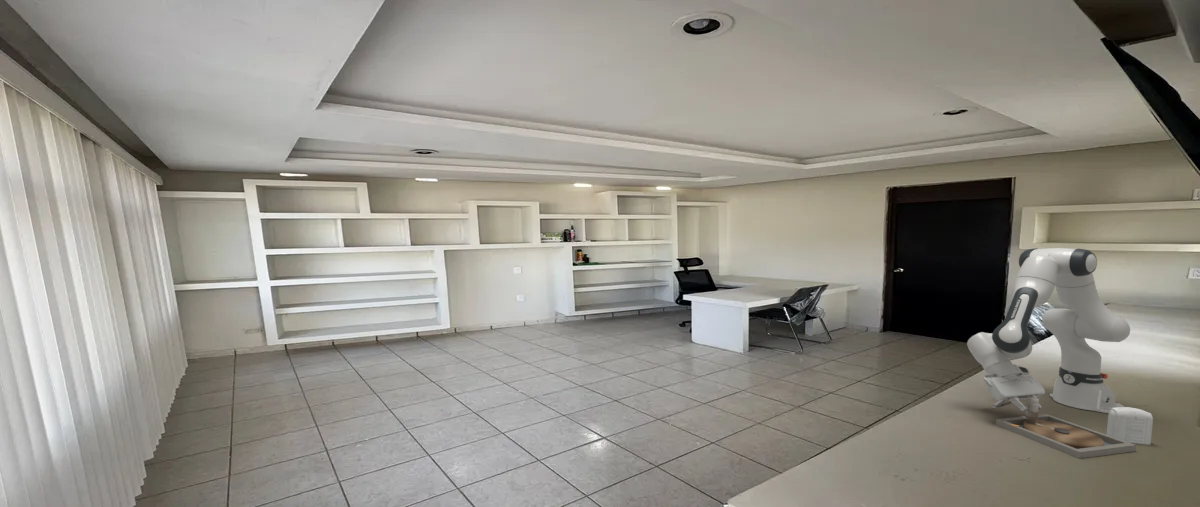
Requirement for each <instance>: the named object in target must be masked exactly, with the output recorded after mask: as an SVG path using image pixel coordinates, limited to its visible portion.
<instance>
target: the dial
mask: <svg viewBox="0 0 1200 507" xmlns="http://www.w3.org/2000/svg"><path fill="white" fill-rule="evenodd" d="M1039 402H1040V398H1039V397H1037V398H1036V397H1031V396H1028V397H1027V398H1026V406H1027V407H1028V410H1026V411H1025V416H1026V421H1025V422H1024V423H1023V428H1024V429H1027V430H1030V431H1032V432H1035V433H1037V434H1040V435H1042V436H1045V437H1048V438H1050V439H1053V440H1055V441H1058V442H1060V443H1063V444H1066V445H1068V446H1071V447H1073V448H1076V449H1081V448H1089V447H1097V446H1104V441H1103V440H1102V439H1101V438H1100V437H1098V436H1097V435H1095V434H1093V433H1090V432H1088V431H1085V430H1083V429H1080V428H1076V427H1073V426H1070V425H1066V424H1061V423H1057V422H1051V421H1044V420H1037V419H1038V415H1039V409H1038V404H1040V403H1039Z"/></svg>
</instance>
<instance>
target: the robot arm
mask: <svg viewBox="0 0 1200 507" xmlns="http://www.w3.org/2000/svg"><path fill="white" fill-rule="evenodd" d="M1018 265H1019V267H1020V268H1019V269H1018V272H1017V274H1016V277H1015V280H1014V284H1013V289H1012V300H1011V302H1010V305H1009V307H1008V311H1007V313H1006V316H1005V318H1004V320H1003V321H1002V322H1001V323H1000V324H999V325H997V326H996V328H994V330H993V331H992V332H991V333H989V332H984V331H980V332H977V333H976V334H973V335H971V336H970V337H969V338H968V339H967V342H966V346H967V347H968V350H969V352H970V354H971V355H972V356H973V357H974V359H975V361H977V363H979V364H980V365H981V366H982V369H983V371H984V372H985V373H986V374H985V375H984V376H983V380H984V382H985V384H986V387H987V389H988V390H989V392H990V394H991V395H992V397H993V398H994V399H995V400H997V402H998V401H1000V400H1007V401H1009V402H1010V403H1012V404H1013V405H1014V406H1016V407H1018V409H1019V411H1021V412H1026V410H1028V407H1027V404H1026V403H1025V404H1023V402H1021V401H1020V399H1027V397H1028V396H1031V397H1036V398H1039V397H1041V396H1043V395H1045V394H1046V390H1045V388H1044V387H1043V386H1042V384H1041V383H1040V382H1039V381H1038V380H1037V378H1036V377H1035V376H1033V375H1032V374H1031V371H1030V370H1029V368H1028V367H1025V366H1020V365H1018V364H1013V362H1012V361H1015V360H1019V359H1024V358H1026V357H1027V356H1028V357H1029V355H1030V354H1032V351H1033V345H1032V343H1031V338H1030V335H1029V332H1028V325H1029V322H1030V320H1031V318H1032V315H1033V312H1034V310H1035V308H1036V307H1037V306H1039V305H1042V304H1045V303H1047V302H1049V301H1048V300H1049V299H1050V298H1051V296H1052V294H1053V292H1054V290H1056V295H1057V298H1058V299H1057V300H1059V302H1061V304H1063V305H1064V306H1066V307H1068V308H1058V307H1057V308H1049V309H1047V310H1046V311H1045V312H1044V313H1043V314H1042V317H1041V321H1042V322H1041V323H1042V324H1043V326H1044V328H1045V329H1046V330H1048V331H1049V332H1050V333H1051V334H1052V335H1053V337H1055V339H1056V341H1057V342H1058V345H1059V347H1060V352H1061V353H1060V354H1061V355H1060V357H1061V359H1060V360H1061V362H1060V363H1061V364H1060V367H1059V369H1058V376H1059V377H1056V378H1055V382H1054V386H1053V392H1052V393H1051V392H1050V394H1049V397H1051V398H1052V399H1053V401H1055V402H1056V403H1059V404H1061V405H1065V406H1068V407H1071V408H1075V409H1080V410H1084V411H1085V410H1086V411H1092V412H1098V413H1104V414H1108V413H1109V410H1110V409H1111V408H1116V407H1125V406H1124V404H1121V403H1119V402H1116V394H1115V391H1114V390H1112V389H1111V388H1110V387H1109V386H1108V385H1106V384H1105V383H1104V379H1105V380H1107V379H1108V378H1109V375H1108V374H1107V373H1102V372H1101V367H1102V355H1101V353H1100V352H1099V351H1098V350H1096V349H1095V348H1093V347H1092V346H1090V345H1089V344H1088V342H1087V341H1086V339H1087V340H1094V341H1099V342H1106V343H1107V342H1108V343H1121V342H1123V341H1125V340H1126V339H1127V338H1128V337H1129V336H1130V333H1131V327H1130V325H1129V322H1128V321H1127V320H1125V318H1122V317H1121V316H1119V315H1117V314H1116V313H1114V312H1112V311H1111V310H1110V309H1109V308H1108V306H1106V305H1105V303H1103V302H1102V300H1101V298H1100V296H1099V293H1098V290H1097V286H1096V283H1095V282H1096V281H1095V278H1094V274H1093V273H1094V272H1095V271H1096V269H1097V265H1098V260H1097V256H1096V254H1095V253H1094V252H1092V251H1091V250H1089V249H1084V248H1070V247H1069V248H1068V247H1051V248H1050V247H1048V248H1046V247H1045V248H1037V247H1035V248H1029V249H1025V250H1024V251H1023V252H1021V254H1020V255H1019V258H1018ZM1040 409H1042V406H1041V404H1040V403H1039V404H1038V410H1040Z"/></svg>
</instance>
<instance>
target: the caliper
mask: <svg viewBox="0 0 1200 507" xmlns="http://www.w3.org/2000/svg"><path fill="white" fill-rule="evenodd" d="M1007 401H1008V400H1000V401H998V400H997V401H996V402H995V403H993V404H992V406H991V409H993V408H994V409H995V408H999V407H1001V406H1002V405H1003V404H1005V403H1006V402H1007Z"/></svg>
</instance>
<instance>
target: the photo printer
mask: <svg viewBox="0 0 1200 507" xmlns="http://www.w3.org/2000/svg"><path fill="white" fill-rule="evenodd" d="M1107 414H1108V415H1107V416H1108V417H1107V426H1106V435H1109V436H1112V437H1115V438H1117V439H1120V440H1123V441H1126V442H1129V443H1132V444H1138V445H1139V444H1140V445H1147V446H1149V445H1151V443H1152V433H1153V425H1154V423H1153V422H1154V418H1153V414H1152V413H1151V412H1148V411H1145V410H1143V409H1140V408H1135V407H1130V406H1124V407H1116V408H1111V409H1110V410H1109V413H1107Z"/></svg>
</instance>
